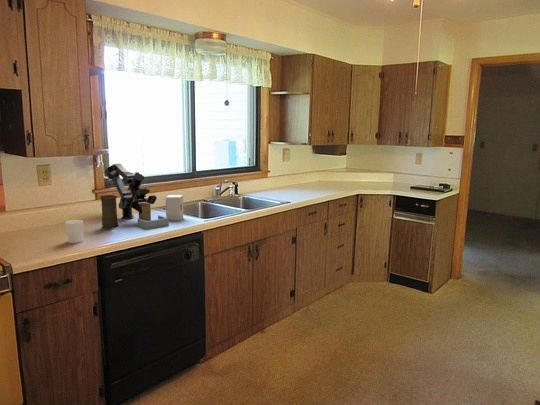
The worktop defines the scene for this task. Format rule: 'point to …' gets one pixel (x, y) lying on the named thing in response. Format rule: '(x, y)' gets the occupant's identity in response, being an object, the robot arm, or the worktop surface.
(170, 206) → the supplement box
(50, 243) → the worktop surface
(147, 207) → the walnut block
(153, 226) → the open box
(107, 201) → the container
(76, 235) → the white cup
